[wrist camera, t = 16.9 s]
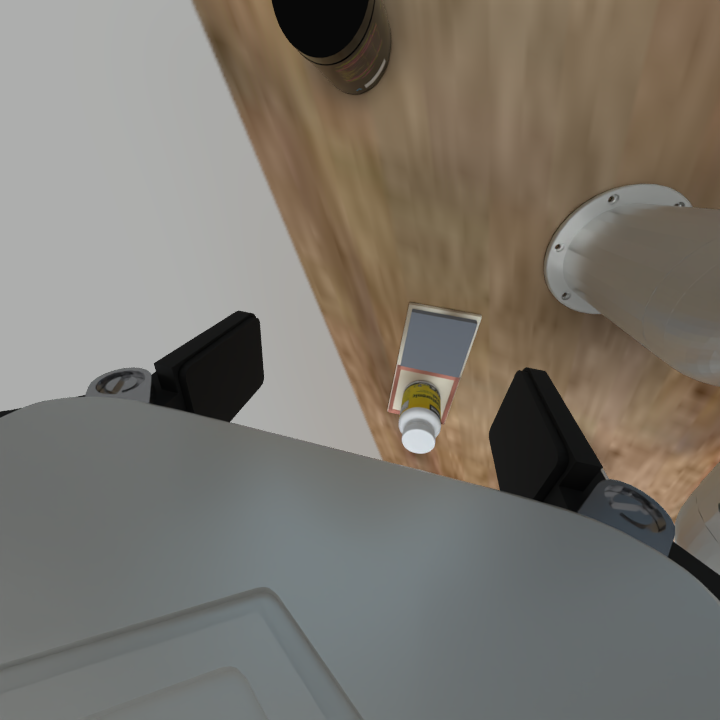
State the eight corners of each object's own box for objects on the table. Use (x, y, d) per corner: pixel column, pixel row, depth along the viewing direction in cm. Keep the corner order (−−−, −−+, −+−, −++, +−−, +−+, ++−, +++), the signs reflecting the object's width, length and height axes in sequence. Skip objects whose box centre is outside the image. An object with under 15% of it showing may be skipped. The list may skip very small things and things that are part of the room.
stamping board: (480, 314, 37) (481, 317, 36) (444, 420, 47) (444, 425, 46) (409, 302, 38) (409, 304, 37) (387, 408, 48) (387, 412, 47)
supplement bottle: (447, 389, 43) (450, 438, 34) (428, 414, 46) (426, 464, 37) (414, 373, 42) (409, 418, 34) (397, 398, 45) (388, 446, 37)
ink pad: (476, 320, 37) (477, 323, 36) (458, 373, 41) (458, 377, 40) (412, 308, 38) (411, 312, 37) (401, 361, 42) (400, 365, 41)
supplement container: (350, -29, 25) (305, -144, 16) (408, 37, 26) (394, -37, 18) (308, 59, 29) (252, 4, 20) (361, 114, 30) (329, 84, 21)
